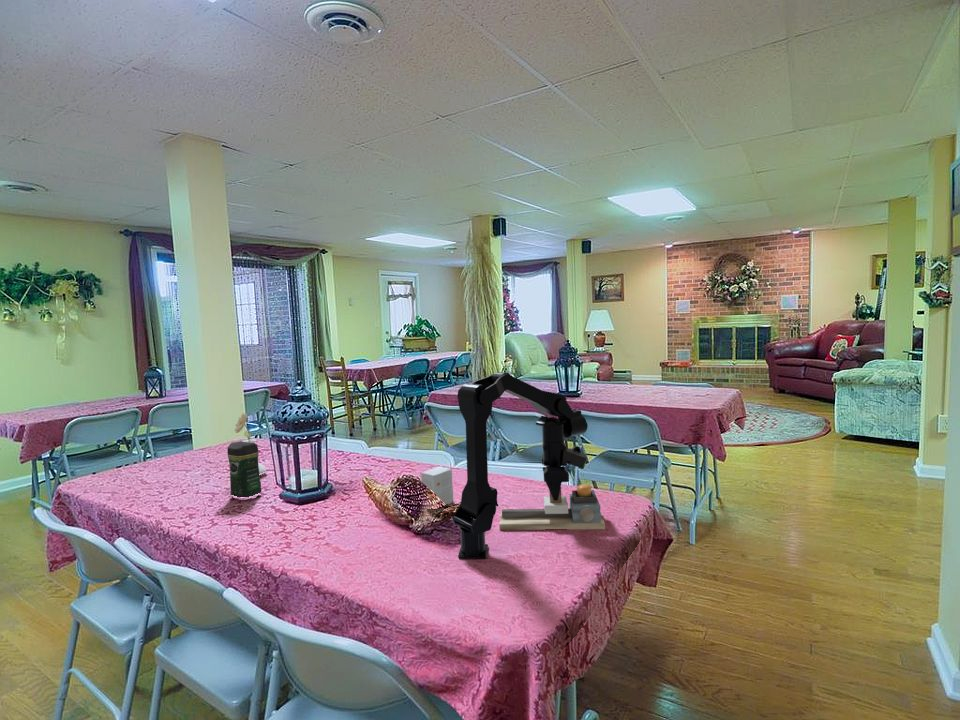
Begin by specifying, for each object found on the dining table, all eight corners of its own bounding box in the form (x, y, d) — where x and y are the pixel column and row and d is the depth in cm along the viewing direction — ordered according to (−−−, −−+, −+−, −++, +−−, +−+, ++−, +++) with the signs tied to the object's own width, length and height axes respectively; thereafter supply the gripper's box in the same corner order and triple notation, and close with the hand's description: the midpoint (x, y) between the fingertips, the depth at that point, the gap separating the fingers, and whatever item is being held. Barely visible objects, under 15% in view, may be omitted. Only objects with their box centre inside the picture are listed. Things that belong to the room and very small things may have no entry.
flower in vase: (237, 474, 193) (232, 410, 192) (269, 470, 197) (264, 407, 195) (231, 484, 181) (226, 416, 179) (265, 480, 184) (260, 413, 182)
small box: (440, 499, 156) (439, 465, 155) (454, 502, 152) (452, 468, 151) (422, 506, 150) (420, 472, 149) (435, 510, 146) (433, 475, 145)
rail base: (605, 529, 128) (604, 500, 127) (499, 529, 130) (498, 501, 130) (599, 514, 138) (598, 487, 137) (501, 515, 140) (500, 489, 140)
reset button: (591, 497, 131) (591, 488, 130) (577, 497, 131) (577, 488, 131) (590, 492, 134) (589, 484, 134) (576, 493, 134) (576, 484, 134)
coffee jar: (266, 495, 167) (262, 440, 165) (243, 503, 160) (239, 446, 159) (249, 491, 172) (245, 438, 171) (226, 498, 165) (222, 443, 164)
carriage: (568, 513, 130) (567, 490, 129) (545, 513, 130) (544, 490, 130) (566, 503, 137) (565, 481, 136) (544, 504, 137) (543, 482, 137)
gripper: (588, 448, 122) (590, 510, 123) (580, 432, 141) (582, 486, 142) (543, 449, 123) (545, 511, 124) (540, 432, 142) (542, 486, 143)
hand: (555, 498), depth 133 cm, fingers closed on carriage, 3 cm apart
